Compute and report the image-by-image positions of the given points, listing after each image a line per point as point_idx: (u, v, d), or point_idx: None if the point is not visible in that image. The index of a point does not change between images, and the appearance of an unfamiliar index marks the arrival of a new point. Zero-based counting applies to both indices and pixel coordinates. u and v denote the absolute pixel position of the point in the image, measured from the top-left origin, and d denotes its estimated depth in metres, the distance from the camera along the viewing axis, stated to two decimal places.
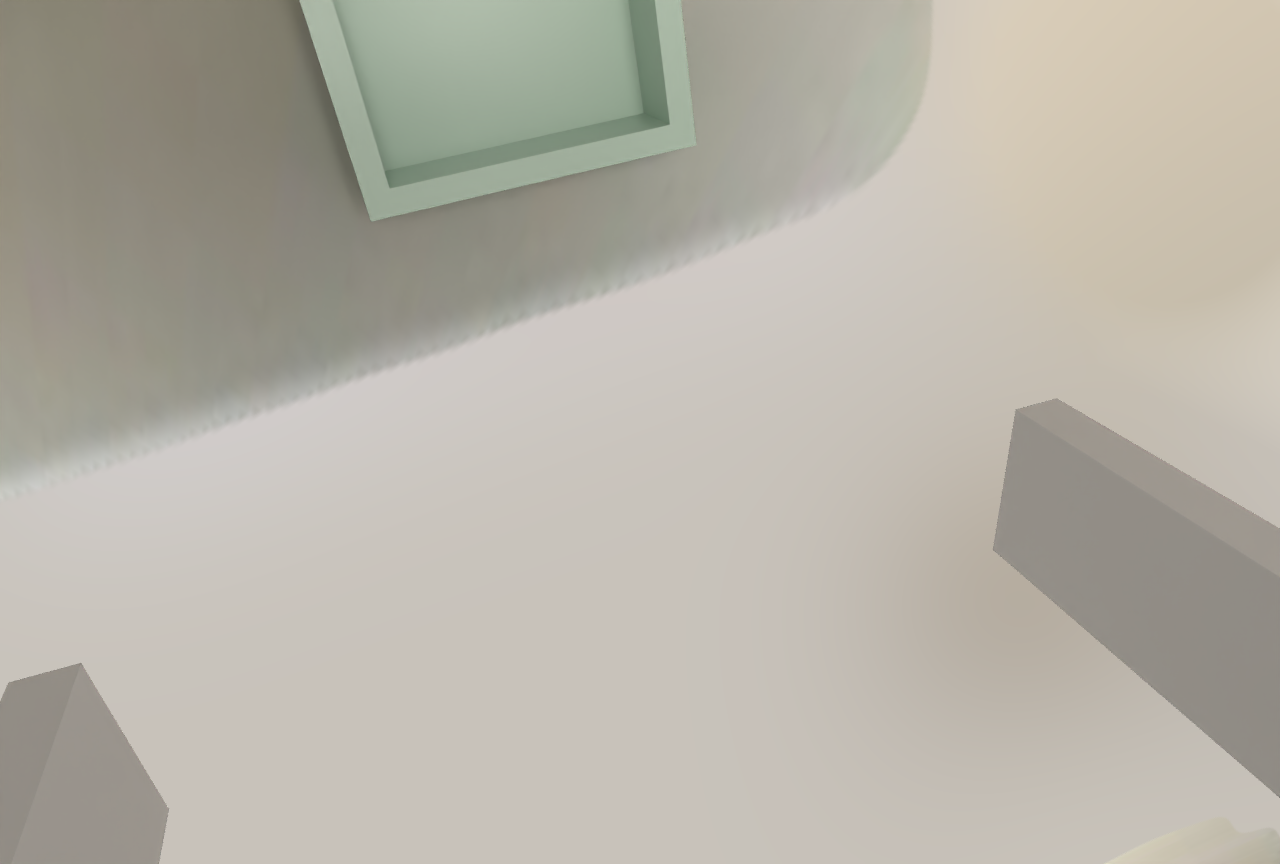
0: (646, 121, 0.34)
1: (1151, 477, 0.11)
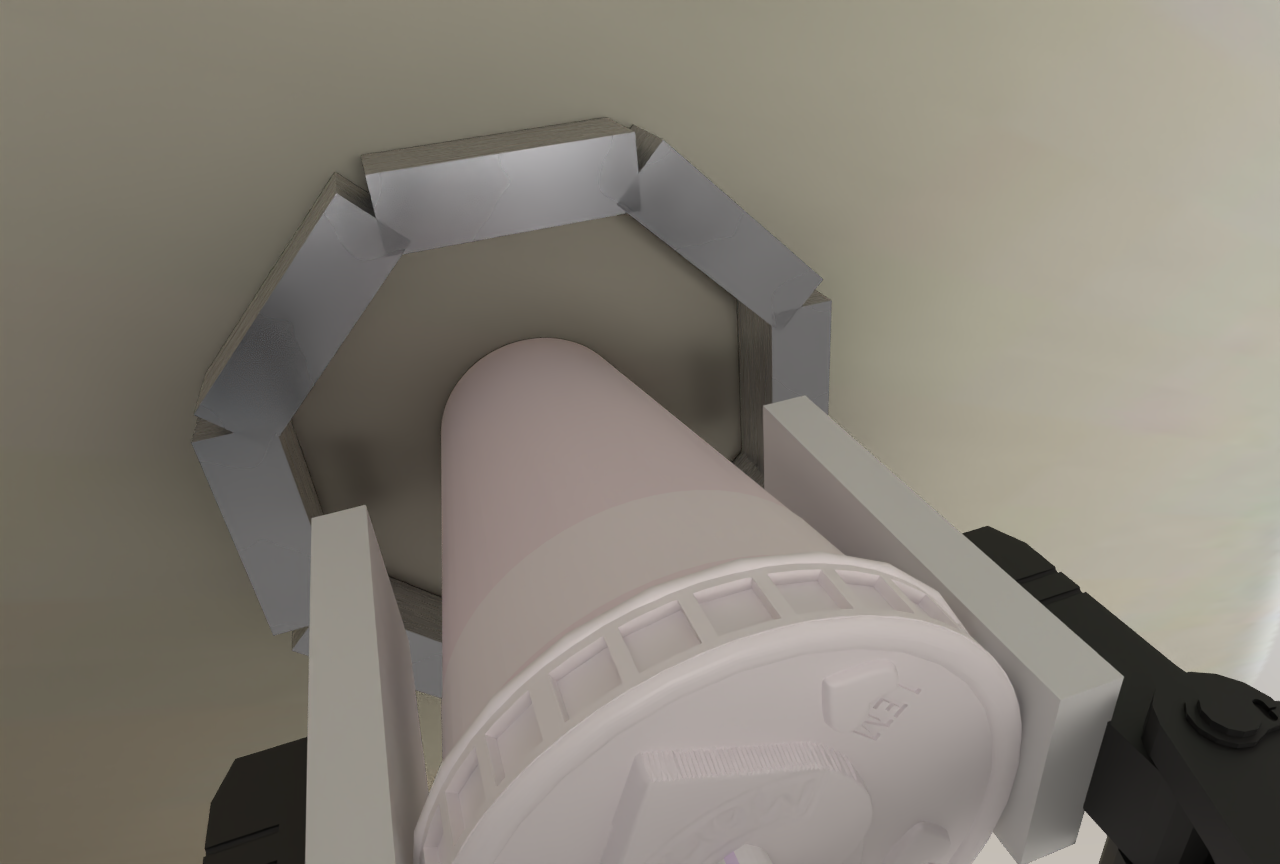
0: None
1: (851, 468, 0.12)
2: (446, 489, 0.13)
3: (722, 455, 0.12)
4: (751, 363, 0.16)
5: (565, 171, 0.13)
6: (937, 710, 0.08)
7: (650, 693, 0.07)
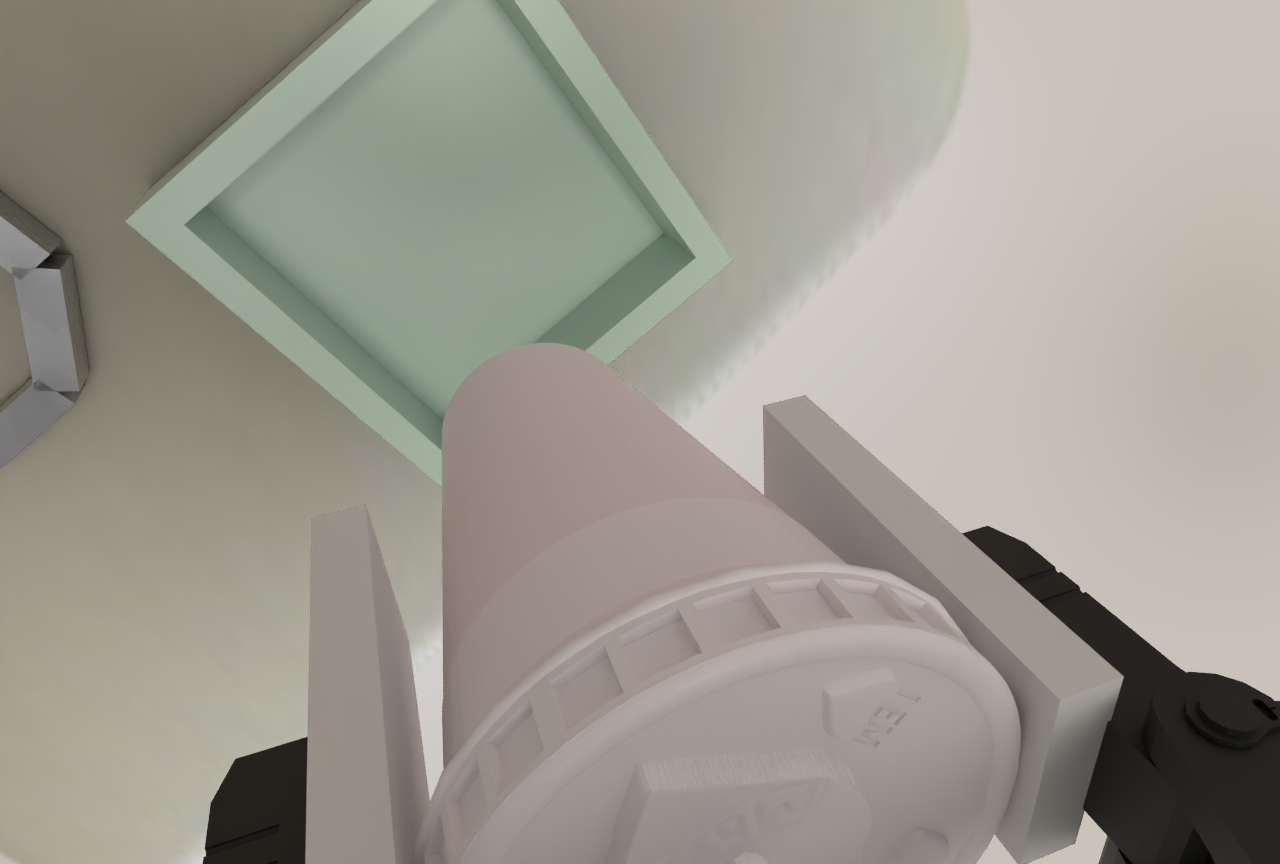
0: (670, 253, 0.30)
1: (852, 468, 0.12)
2: (447, 494, 0.13)
3: (722, 461, 0.12)
4: (15, 395, 0.27)
5: (2, 234, 0.24)
6: (937, 718, 0.08)
7: (650, 701, 0.07)
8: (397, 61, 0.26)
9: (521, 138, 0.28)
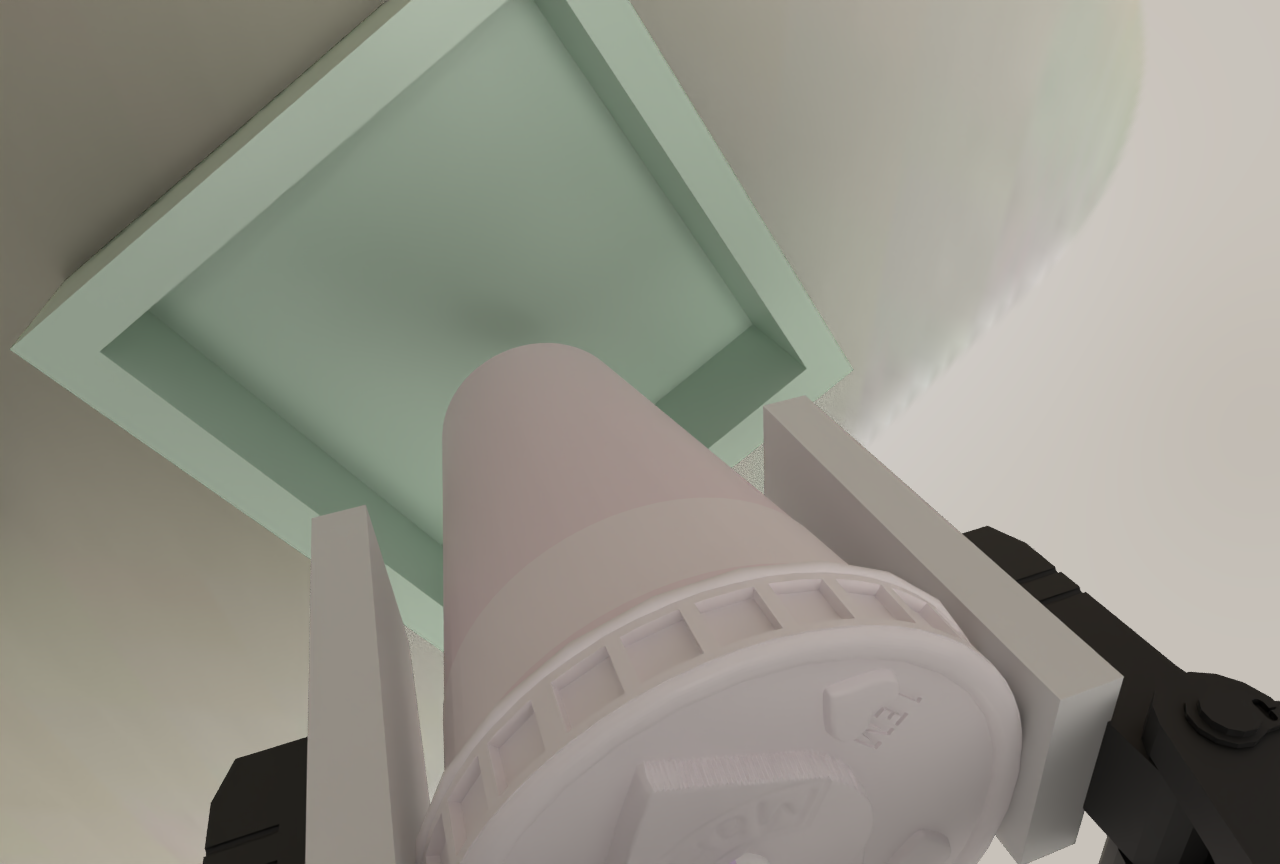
0: (766, 356, 0.23)
1: (851, 468, 0.12)
2: (447, 495, 0.13)
3: None
4: None
5: None
6: (938, 718, 0.08)
7: (651, 702, 0.07)
8: (412, 109, 0.19)
9: (576, 208, 0.21)
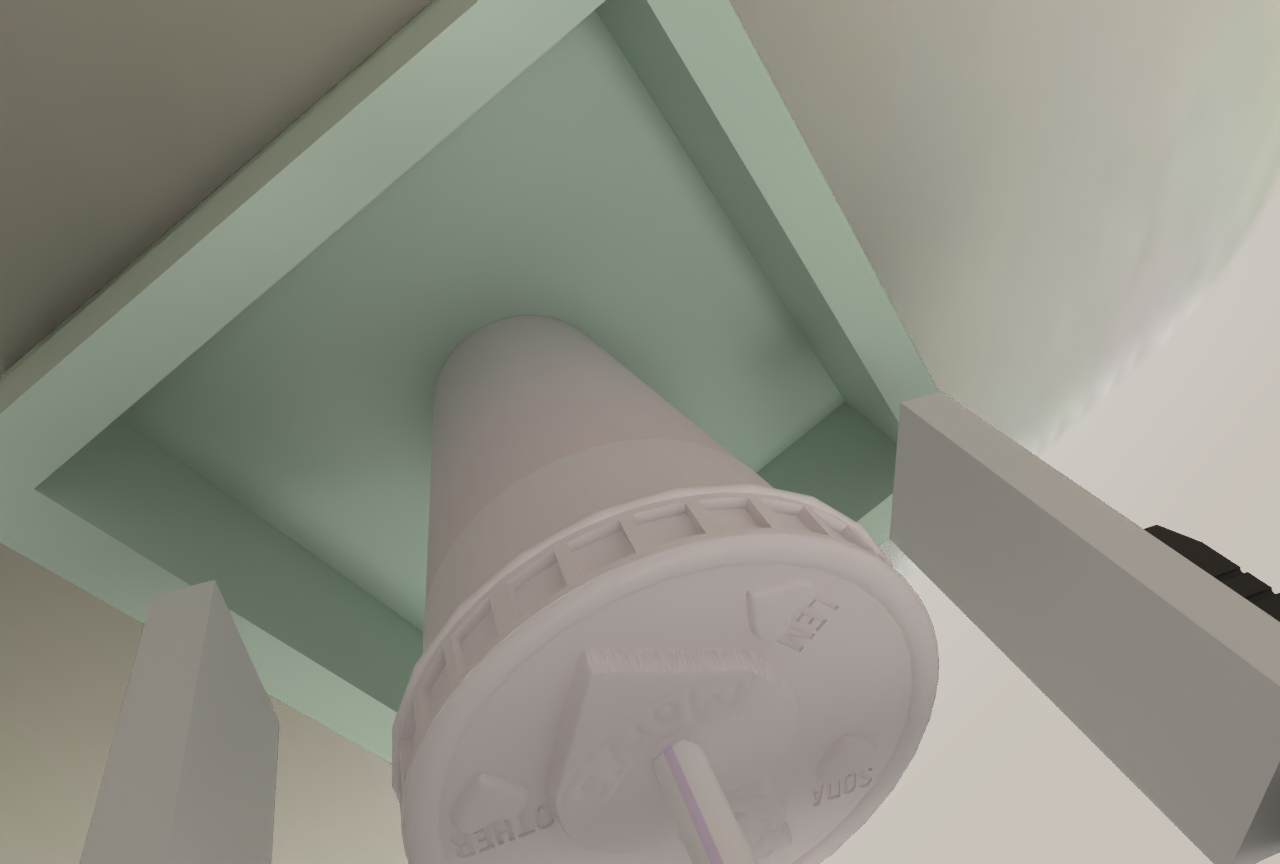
0: (867, 446, 0.19)
1: (1012, 466, 0.11)
2: (434, 450, 0.14)
3: (685, 416, 0.13)
4: None
5: None
6: (856, 626, 0.09)
7: (589, 594, 0.08)
8: (445, 155, 0.15)
9: (643, 272, 0.17)
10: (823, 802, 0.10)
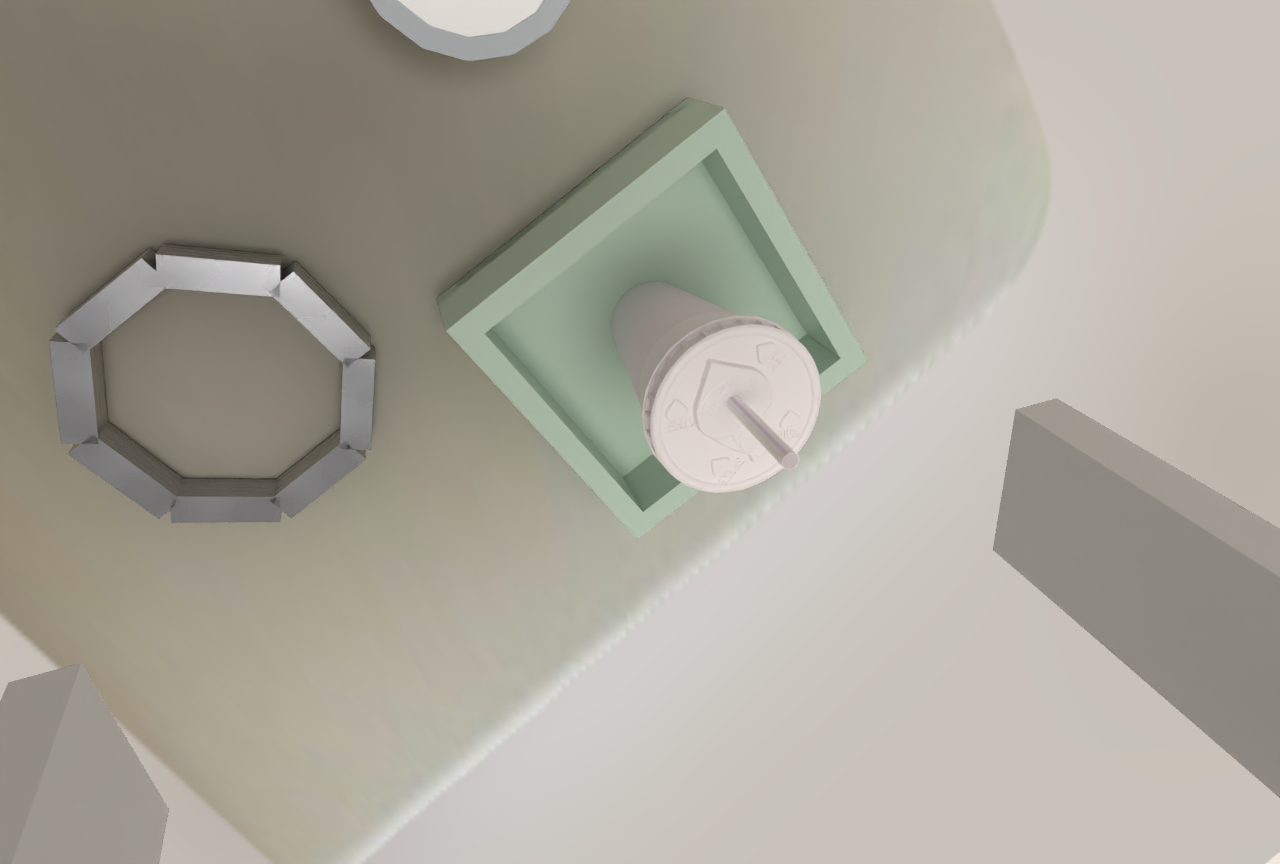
0: (815, 352, 0.38)
1: (1151, 477, 0.11)
2: (625, 331, 0.33)
3: None
4: (319, 451, 0.35)
5: (341, 334, 0.32)
6: (791, 364, 0.28)
7: (711, 338, 0.27)
8: None
9: (709, 263, 0.36)
10: (782, 439, 0.29)
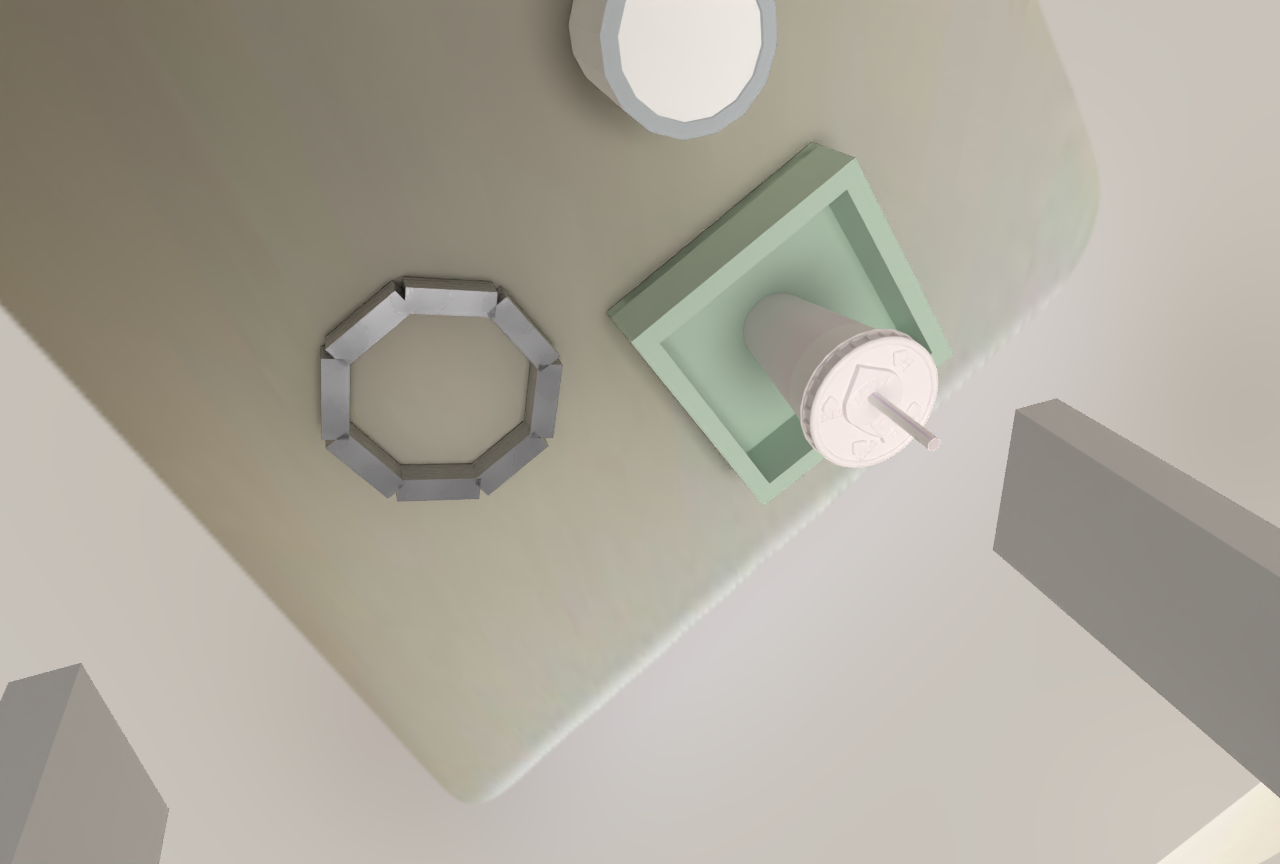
0: None
1: (1151, 477, 0.11)
2: (766, 337, 0.41)
3: None
4: (509, 440, 0.42)
5: (538, 345, 0.39)
6: (917, 366, 0.36)
7: (860, 348, 0.34)
8: None
9: (823, 276, 0.43)
10: None
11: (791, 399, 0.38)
